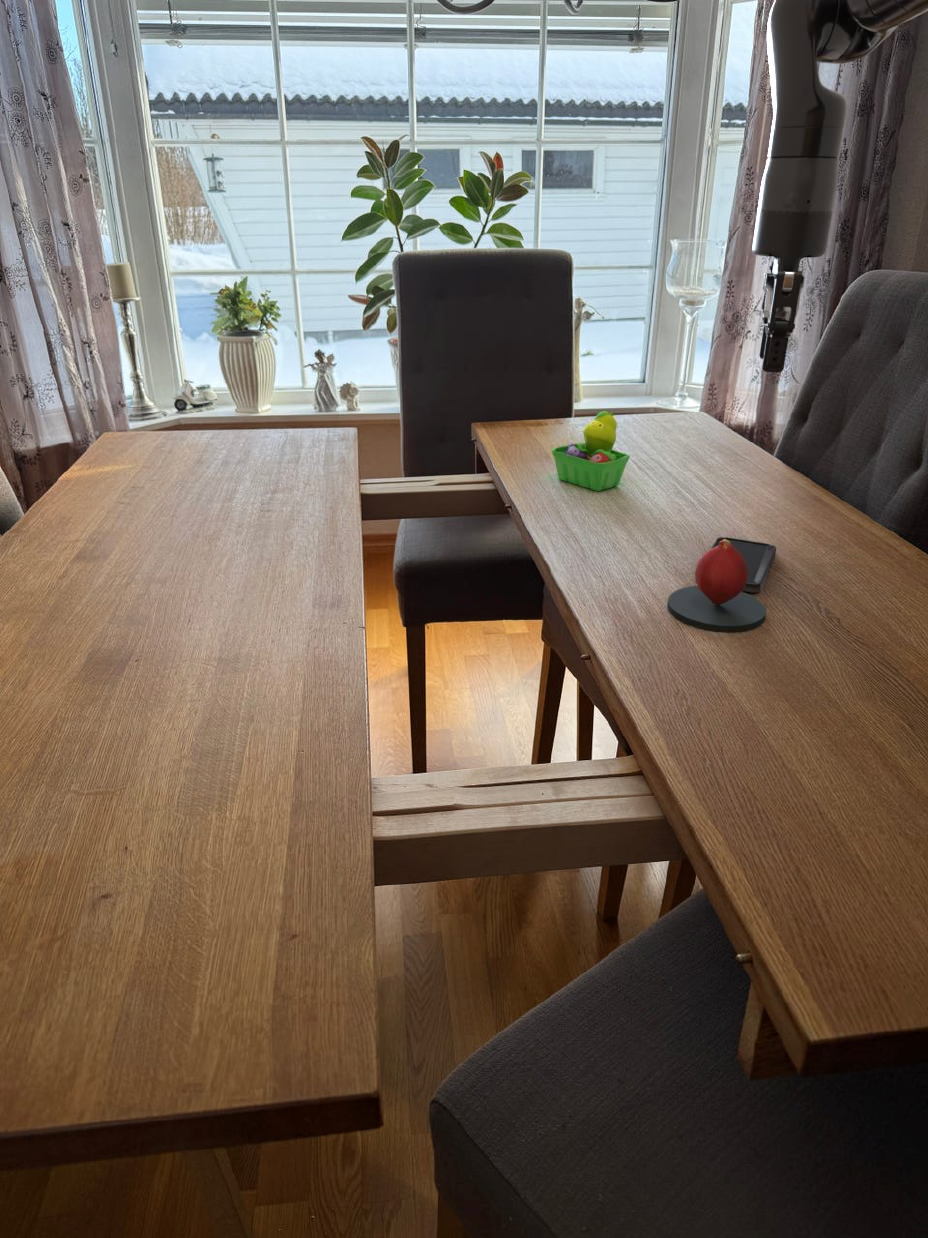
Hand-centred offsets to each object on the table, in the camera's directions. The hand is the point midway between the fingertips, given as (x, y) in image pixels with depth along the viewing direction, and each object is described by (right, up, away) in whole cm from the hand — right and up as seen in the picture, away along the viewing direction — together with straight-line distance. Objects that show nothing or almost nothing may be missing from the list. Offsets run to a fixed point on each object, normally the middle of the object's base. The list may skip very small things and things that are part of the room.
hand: (770, 364), depth 100 cm
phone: (+1, -22, +14) cm, 26 cm away
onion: (-5, -27, +2) cm, 28 cm away
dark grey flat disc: (-5, -28, +2) cm, 28 cm away
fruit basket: (-14, -6, +47) cm, 49 cm away
